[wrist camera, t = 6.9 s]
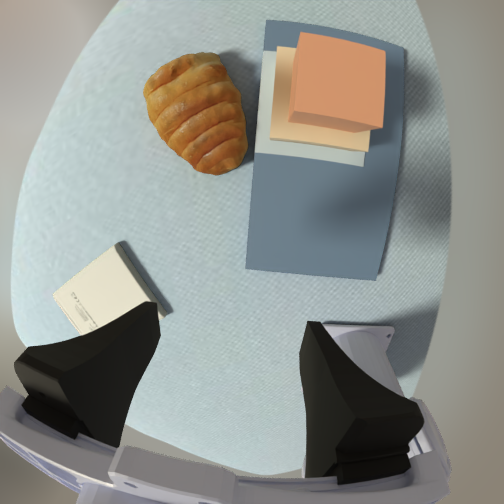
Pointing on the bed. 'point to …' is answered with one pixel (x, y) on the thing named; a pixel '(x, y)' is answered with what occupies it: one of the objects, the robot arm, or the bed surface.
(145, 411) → the bed surface
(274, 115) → the base block
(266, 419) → the bed surface
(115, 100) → the bed surface
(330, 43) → the top block
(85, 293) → the external hard drive
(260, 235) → the board
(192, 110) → the pastry
